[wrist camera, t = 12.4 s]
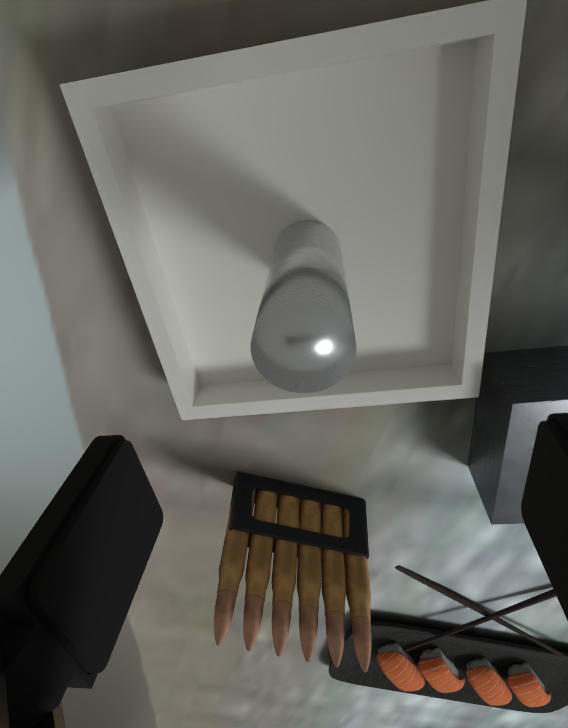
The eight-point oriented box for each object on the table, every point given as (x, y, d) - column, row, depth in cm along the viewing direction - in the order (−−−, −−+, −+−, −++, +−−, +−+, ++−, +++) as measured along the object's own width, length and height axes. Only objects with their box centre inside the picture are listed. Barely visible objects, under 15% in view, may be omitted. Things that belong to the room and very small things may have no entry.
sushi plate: (321, 661, 52) (321, 698, 49) (411, 508, 35) (420, 549, 32) (544, 698, 54) (558, 736, 50) (728, 568, 37) (767, 613, 34)
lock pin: (338, 215, 22) (353, 296, 13) (343, 281, 23) (359, 388, 15) (269, 224, 22) (240, 308, 14) (279, 288, 24) (260, 396, 16)
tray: (497, 6, 17) (527, -8, 15) (463, 368, 27) (478, 397, 24) (91, 84, 20) (59, 84, 17) (193, 391, 29) (181, 420, 27)
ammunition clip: (365, 499, 34) (386, 668, 24) (358, 513, 35) (374, 681, 25) (237, 471, 34) (203, 634, 24) (233, 486, 35) (199, 649, 25)
